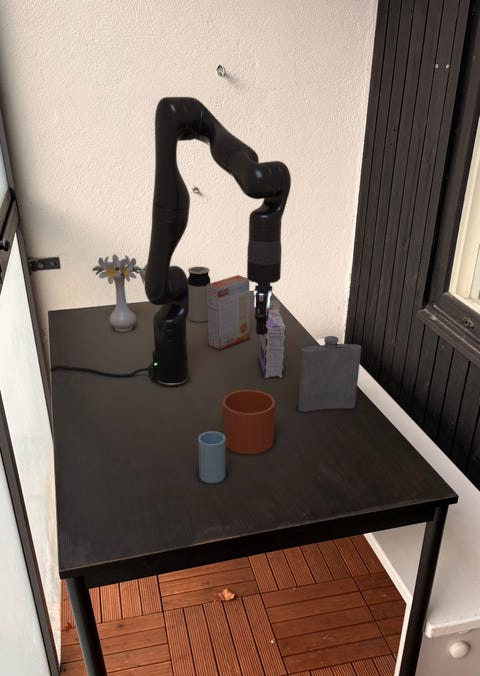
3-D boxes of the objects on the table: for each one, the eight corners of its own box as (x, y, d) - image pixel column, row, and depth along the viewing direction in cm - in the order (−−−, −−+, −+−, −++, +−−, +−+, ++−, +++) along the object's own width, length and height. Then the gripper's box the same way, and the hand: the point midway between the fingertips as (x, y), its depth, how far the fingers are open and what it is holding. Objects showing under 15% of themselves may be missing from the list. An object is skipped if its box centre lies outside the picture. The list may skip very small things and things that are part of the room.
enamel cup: (195, 480, 146) (194, 443, 141) (203, 466, 151) (203, 429, 146) (221, 485, 144) (220, 447, 139) (228, 470, 149) (228, 433, 144)
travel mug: (185, 320, 232) (183, 271, 223) (194, 313, 238) (193, 265, 229) (205, 323, 229) (204, 274, 220) (214, 316, 235) (213, 267, 226)
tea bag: (258, 326, 227) (259, 299, 222) (277, 325, 228) (278, 298, 223) (260, 330, 224) (260, 302, 219) (279, 329, 225) (280, 302, 220)
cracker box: (237, 334, 221) (237, 274, 210) (250, 339, 217) (250, 278, 207) (207, 345, 212) (205, 283, 202) (219, 350, 209) (218, 287, 198)
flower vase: (154, 332, 222) (149, 260, 209) (99, 337, 218) (91, 263, 205) (149, 319, 232) (145, 249, 220) (97, 323, 228) (89, 252, 216)
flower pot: (216, 450, 157) (216, 410, 151) (230, 424, 167) (230, 387, 162) (267, 457, 154) (268, 417, 149) (278, 431, 165) (279, 393, 159)
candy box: (258, 359, 203) (260, 309, 195) (277, 358, 204) (279, 308, 195) (263, 378, 191) (265, 326, 183) (283, 377, 192) (286, 325, 184)
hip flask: (299, 412, 174) (303, 343, 163) (295, 405, 177) (299, 337, 167) (356, 408, 176) (364, 339, 166) (351, 401, 179) (359, 333, 169)
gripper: (250, 249, 150) (249, 315, 158) (244, 267, 137) (243, 338, 146) (282, 250, 149) (279, 317, 157) (279, 268, 137) (276, 339, 145)
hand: (262, 327), depth 151 cm, fingers open, 8 cm apart
